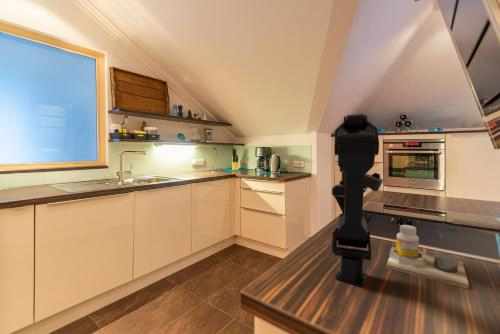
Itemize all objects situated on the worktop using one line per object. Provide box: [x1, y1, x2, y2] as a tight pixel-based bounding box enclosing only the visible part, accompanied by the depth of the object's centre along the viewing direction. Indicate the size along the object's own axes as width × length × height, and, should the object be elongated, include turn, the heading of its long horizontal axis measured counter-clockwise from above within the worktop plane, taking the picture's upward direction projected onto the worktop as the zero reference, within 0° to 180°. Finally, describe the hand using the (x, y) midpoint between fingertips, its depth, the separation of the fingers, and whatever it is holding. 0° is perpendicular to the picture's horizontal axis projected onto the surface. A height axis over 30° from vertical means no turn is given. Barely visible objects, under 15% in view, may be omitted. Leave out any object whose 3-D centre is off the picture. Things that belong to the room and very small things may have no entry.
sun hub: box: [433, 252, 459, 273], centre depth 63 cm, size 5×5×3 cm
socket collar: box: [389, 246, 427, 267], centre depth 69 cm, size 9×9×2 cm
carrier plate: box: [385, 254, 470, 290], centre depth 66 cm, size 14×17×1 cm
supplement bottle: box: [395, 224, 420, 258], centre depth 68 cm, size 5×5×10 cm
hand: (350, 214), depth 74 cm, fingers open, 9 cm apart
